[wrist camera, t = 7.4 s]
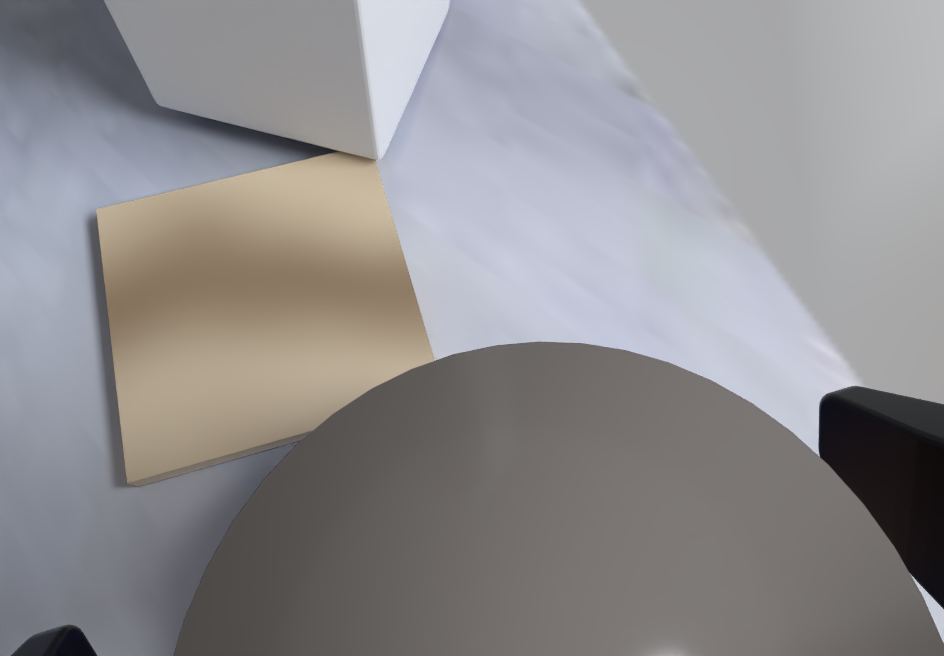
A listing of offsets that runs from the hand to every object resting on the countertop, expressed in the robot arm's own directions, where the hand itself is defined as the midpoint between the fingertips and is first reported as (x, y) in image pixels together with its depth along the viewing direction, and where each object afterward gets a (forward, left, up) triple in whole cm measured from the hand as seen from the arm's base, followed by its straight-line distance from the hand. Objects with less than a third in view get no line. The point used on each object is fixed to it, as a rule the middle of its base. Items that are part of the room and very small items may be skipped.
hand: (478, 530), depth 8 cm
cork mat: (+8, +4, -9) cm, 13 cm away
